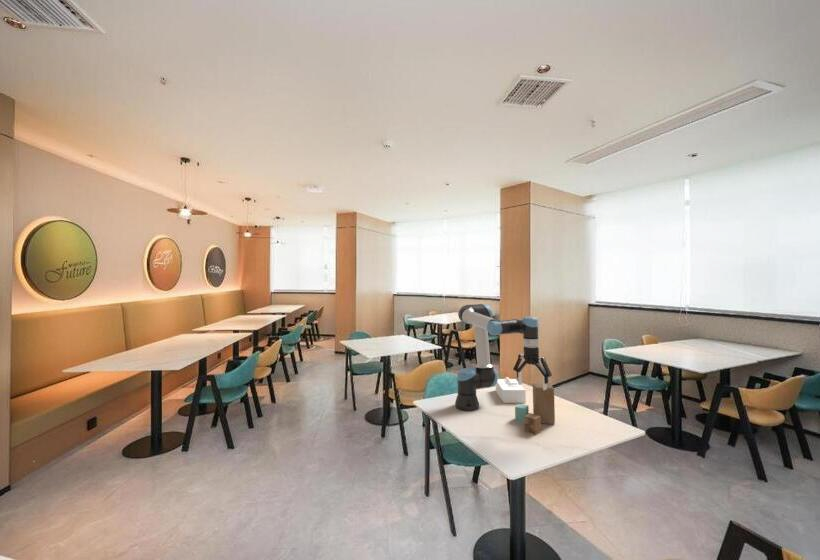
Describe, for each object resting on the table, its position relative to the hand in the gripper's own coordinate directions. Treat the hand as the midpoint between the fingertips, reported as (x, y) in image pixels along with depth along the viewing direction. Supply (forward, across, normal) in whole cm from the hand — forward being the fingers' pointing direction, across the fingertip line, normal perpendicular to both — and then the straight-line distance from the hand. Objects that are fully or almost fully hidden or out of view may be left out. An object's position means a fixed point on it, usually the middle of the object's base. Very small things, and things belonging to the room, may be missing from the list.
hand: (532, 387), depth 174 cm
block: (+23, -3, +17) cm, 29 cm away
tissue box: (+23, -38, +40) cm, 60 cm away
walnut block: (+23, -1, 0) cm, 23 cm away
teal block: (+23, -12, +9) cm, 28 cm away
